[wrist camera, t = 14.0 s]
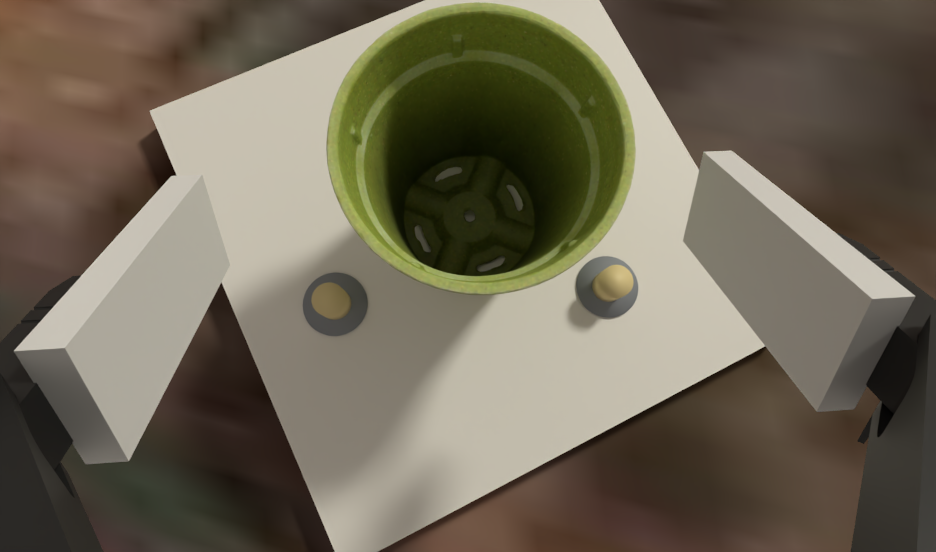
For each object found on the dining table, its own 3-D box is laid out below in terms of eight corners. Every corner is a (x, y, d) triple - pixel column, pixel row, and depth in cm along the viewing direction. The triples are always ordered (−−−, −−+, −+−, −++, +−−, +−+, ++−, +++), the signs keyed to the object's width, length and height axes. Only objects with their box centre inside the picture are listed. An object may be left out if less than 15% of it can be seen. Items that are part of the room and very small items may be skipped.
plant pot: (609, 266, 25) (693, 206, 17) (422, 361, 24) (409, 349, 15) (513, 95, 26) (545, -41, 18) (332, 177, 25) (275, 73, 17)
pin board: (560, -39, 29) (572, -81, 27) (777, 333, 26) (815, 328, 23) (162, 122, 27) (131, 94, 24) (347, 560, 23) (335, 583, 21)
